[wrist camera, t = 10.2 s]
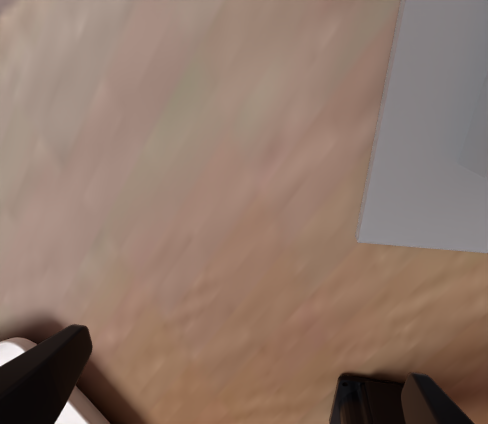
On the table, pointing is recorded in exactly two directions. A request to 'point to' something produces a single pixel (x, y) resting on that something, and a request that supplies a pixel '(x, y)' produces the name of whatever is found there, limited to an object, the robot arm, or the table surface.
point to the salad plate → (78, 405)
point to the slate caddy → (432, 132)
